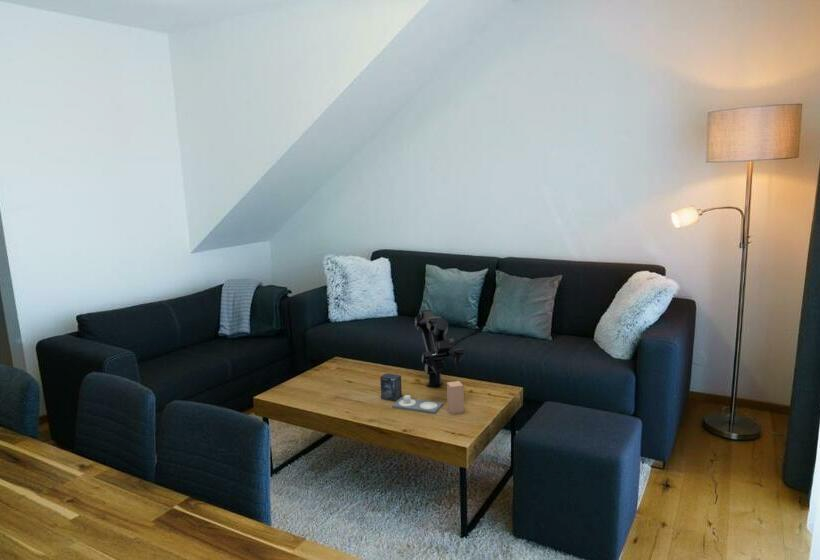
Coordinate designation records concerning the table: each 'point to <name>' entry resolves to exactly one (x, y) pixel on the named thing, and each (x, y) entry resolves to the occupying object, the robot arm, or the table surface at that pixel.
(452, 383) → the pink block
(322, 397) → the table surface
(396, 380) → the box
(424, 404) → the plate
